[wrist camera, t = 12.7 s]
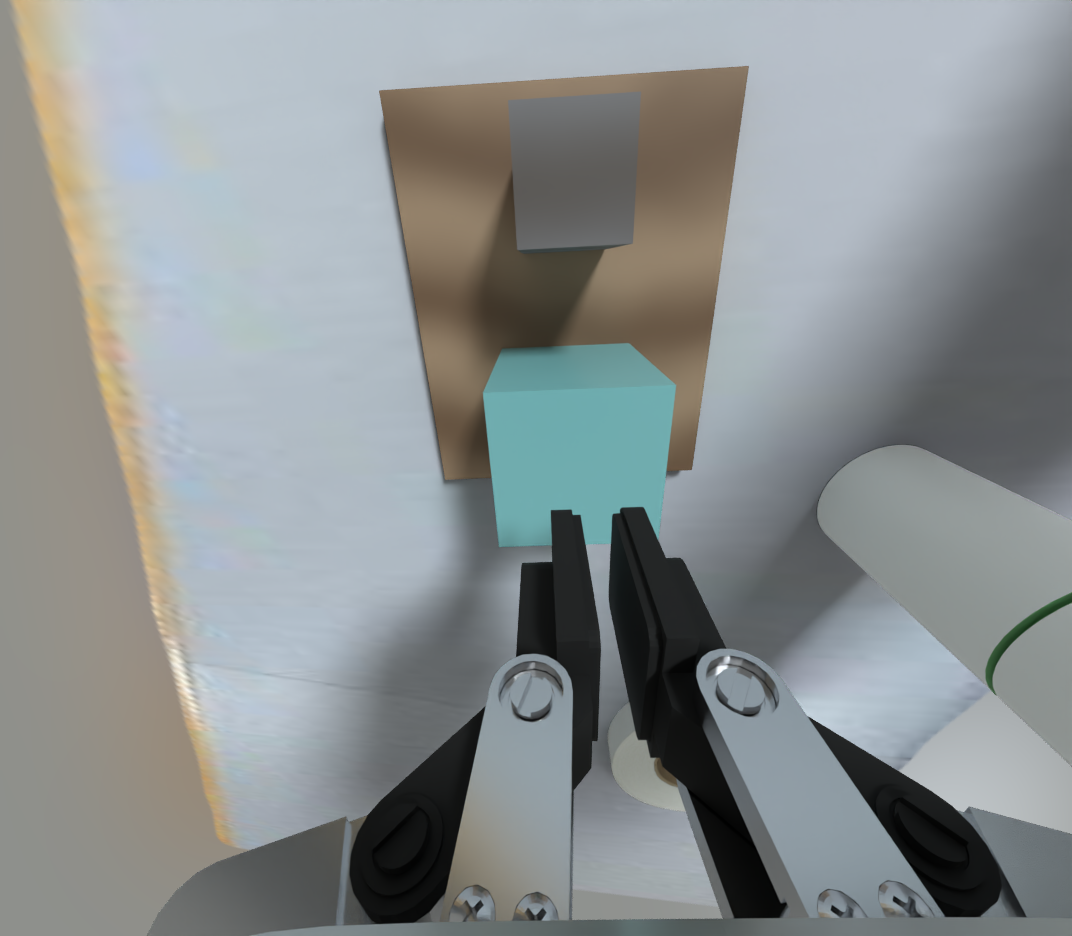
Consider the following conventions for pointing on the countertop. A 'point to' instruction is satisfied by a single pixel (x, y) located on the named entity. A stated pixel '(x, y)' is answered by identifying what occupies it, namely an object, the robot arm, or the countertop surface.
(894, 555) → the cylindrical container
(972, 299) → the countertop surface
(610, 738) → the roll of tape
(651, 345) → the walnut board
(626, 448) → the aqua foam cube
